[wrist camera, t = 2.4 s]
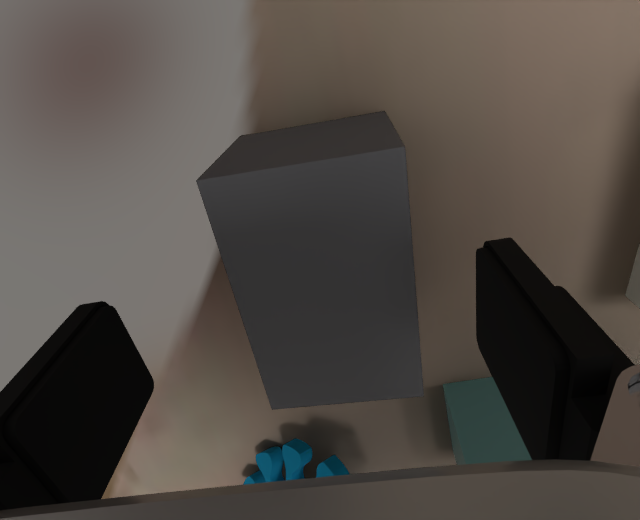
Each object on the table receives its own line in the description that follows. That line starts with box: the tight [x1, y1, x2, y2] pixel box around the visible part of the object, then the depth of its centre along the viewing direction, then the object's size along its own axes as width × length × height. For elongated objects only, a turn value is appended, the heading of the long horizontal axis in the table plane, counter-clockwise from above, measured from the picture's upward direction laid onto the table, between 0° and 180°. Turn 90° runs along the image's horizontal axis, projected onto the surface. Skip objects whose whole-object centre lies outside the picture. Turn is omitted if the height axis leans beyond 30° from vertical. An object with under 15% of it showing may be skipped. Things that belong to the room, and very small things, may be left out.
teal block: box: [443, 377, 532, 465], centre depth 18 cm, size 8×5×5 cm, turn 104°
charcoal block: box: [196, 111, 424, 410], centre depth 14 cm, size 8×5×5 cm, turn 10°
